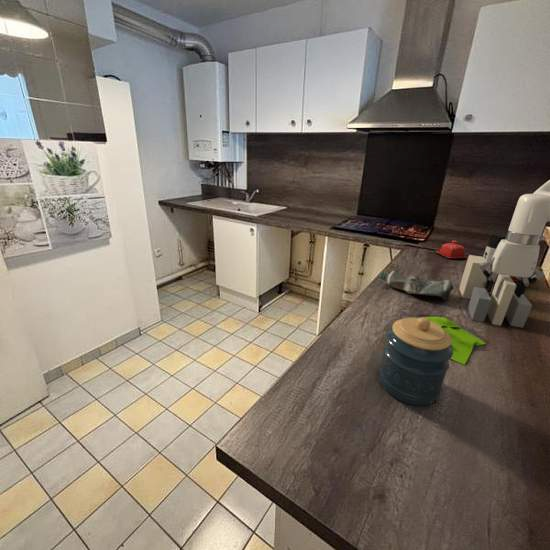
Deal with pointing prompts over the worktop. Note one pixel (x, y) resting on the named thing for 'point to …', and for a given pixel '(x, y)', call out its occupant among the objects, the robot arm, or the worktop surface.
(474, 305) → the pair of grey pillars
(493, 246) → the spray can
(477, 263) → the beige rectangular block
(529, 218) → the robot arm
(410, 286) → the crushed plastic bottle
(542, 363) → the worktop surface
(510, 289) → the cream book
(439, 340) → the canister
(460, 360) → the cloth
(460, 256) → the butter dish
